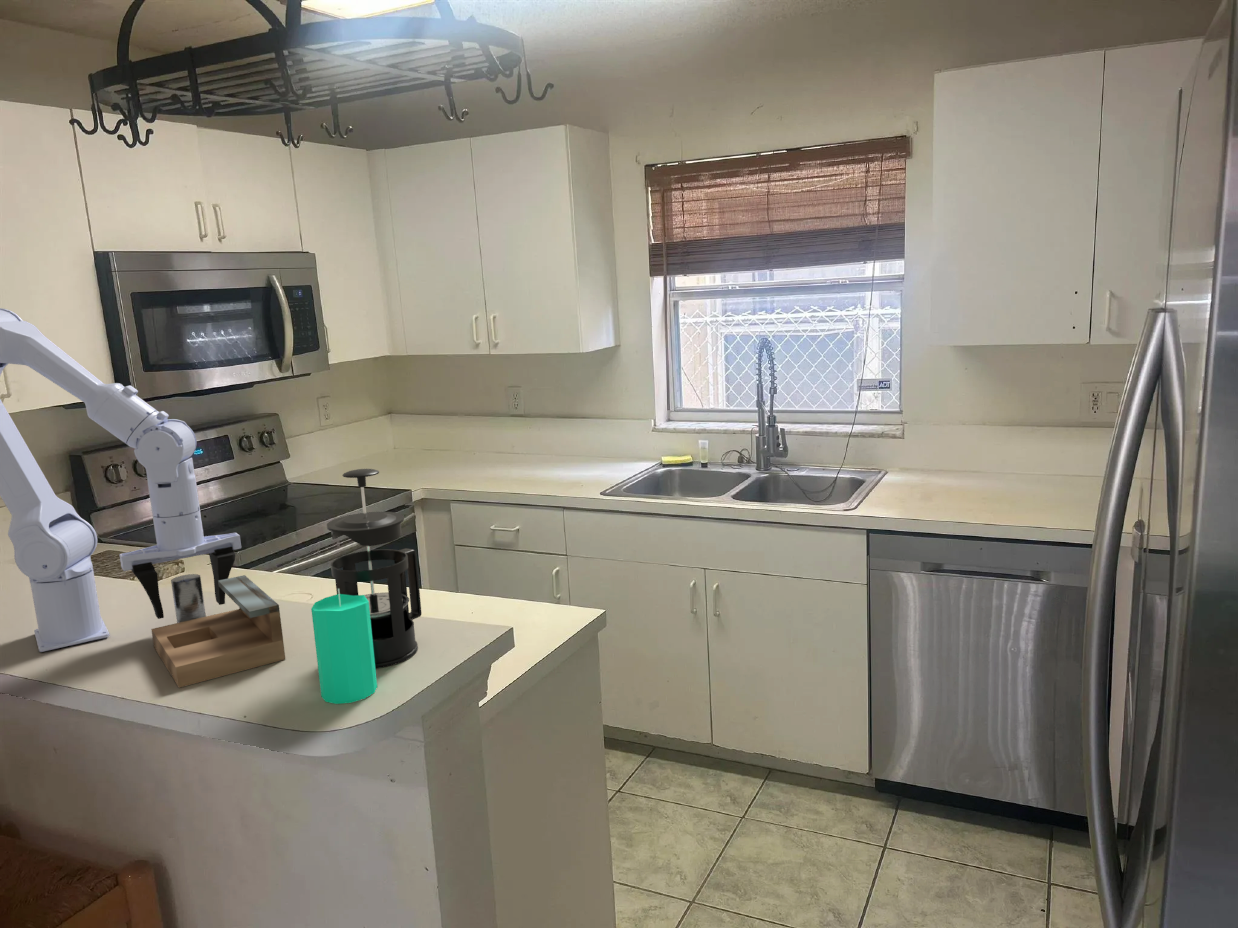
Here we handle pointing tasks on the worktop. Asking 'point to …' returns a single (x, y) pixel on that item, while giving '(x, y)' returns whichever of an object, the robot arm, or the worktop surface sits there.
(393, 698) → the worktop surface
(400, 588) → the french press
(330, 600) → the candle
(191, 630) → the socket board
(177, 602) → the peg
